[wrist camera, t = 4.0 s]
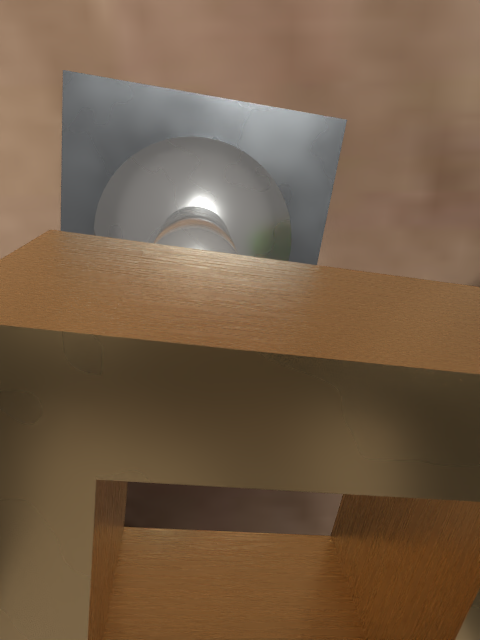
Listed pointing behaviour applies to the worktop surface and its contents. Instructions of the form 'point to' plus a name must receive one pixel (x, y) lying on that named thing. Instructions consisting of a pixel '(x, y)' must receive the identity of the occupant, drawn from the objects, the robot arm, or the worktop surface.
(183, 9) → the worktop surface
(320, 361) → the collar
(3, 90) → the worktop surface
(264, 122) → the post
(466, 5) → the worktop surface
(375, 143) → the worktop surface
